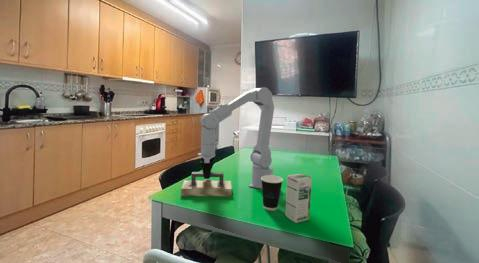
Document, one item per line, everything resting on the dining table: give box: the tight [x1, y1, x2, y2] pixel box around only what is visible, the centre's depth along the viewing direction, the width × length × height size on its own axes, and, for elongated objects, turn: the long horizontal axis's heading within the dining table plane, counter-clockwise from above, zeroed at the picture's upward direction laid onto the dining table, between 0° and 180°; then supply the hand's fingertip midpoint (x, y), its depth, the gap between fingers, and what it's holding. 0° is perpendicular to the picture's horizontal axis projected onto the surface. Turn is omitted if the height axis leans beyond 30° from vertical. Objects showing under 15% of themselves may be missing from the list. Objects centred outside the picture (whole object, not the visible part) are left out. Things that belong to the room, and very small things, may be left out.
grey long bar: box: [190, 171, 224, 185], centre depth 102 cm, size 13×2×4 cm, turn 95°
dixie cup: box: [261, 174, 284, 212], centre depth 89 cm, size 8×8×11 cm
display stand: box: [180, 178, 233, 197], centre depth 102 cm, size 20×10×5 cm, turn 95°
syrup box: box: [285, 173, 313, 224], centre depth 81 cm, size 6×6×14 cm
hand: (207, 175), depth 102 cm, fingers open, 7 cm apart
